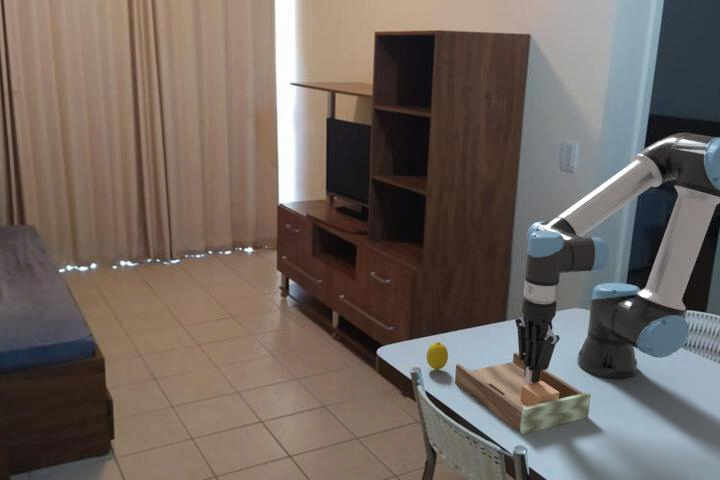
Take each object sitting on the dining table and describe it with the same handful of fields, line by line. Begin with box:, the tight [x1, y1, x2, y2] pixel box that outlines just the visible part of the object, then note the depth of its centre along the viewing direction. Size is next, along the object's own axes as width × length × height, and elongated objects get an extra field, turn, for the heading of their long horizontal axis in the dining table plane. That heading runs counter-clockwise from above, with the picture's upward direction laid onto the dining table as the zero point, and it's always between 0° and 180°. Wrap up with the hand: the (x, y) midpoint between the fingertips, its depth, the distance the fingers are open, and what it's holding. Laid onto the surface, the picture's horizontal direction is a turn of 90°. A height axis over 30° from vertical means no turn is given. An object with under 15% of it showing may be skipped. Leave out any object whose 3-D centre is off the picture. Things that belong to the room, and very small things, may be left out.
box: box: [454, 352, 592, 435], centre depth 171 cm, size 19×27×6 cm
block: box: [520, 381, 559, 406], centre depth 164 cm, size 6×6×4 cm
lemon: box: [426, 341, 449, 371], centre depth 185 cm, size 6×6×8 cm
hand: (530, 392), depth 168 cm, fingers closed
